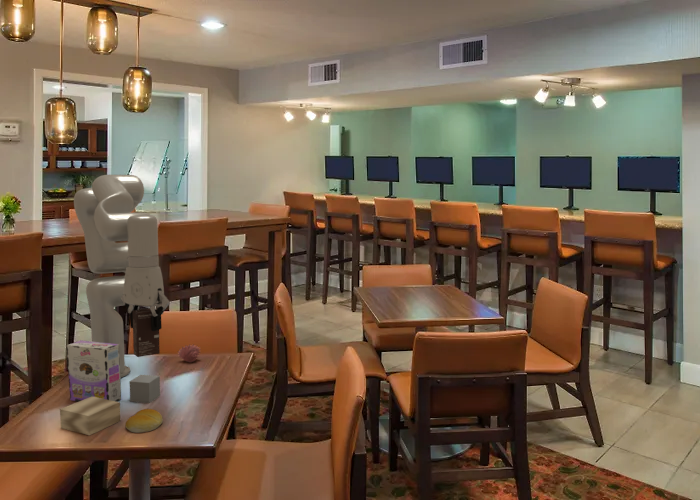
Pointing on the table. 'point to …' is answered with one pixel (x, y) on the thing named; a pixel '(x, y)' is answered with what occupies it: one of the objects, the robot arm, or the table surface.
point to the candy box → (94, 370)
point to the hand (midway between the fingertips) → (146, 327)
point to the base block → (90, 415)
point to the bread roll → (144, 421)
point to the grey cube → (144, 388)
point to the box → (144, 334)
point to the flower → (189, 353)
